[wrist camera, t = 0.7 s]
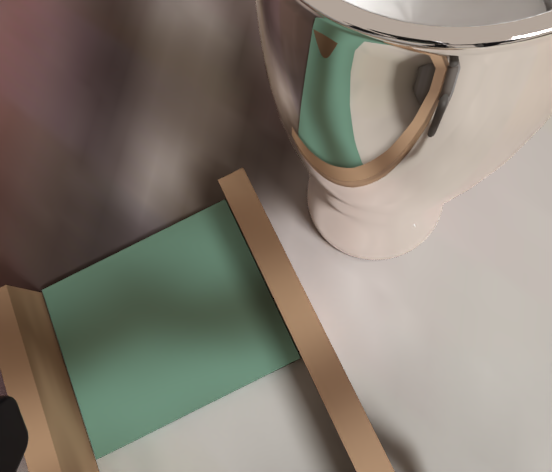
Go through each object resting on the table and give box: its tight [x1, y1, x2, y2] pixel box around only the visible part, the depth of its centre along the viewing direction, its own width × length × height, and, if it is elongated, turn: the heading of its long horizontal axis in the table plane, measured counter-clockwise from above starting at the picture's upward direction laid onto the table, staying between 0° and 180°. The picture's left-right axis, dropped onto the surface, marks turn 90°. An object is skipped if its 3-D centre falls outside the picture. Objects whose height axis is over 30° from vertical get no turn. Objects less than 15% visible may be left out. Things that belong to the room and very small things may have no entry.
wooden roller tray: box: [0, 168, 395, 472], centre depth 17 cm, size 20×14×4 cm
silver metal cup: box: [255, 0, 552, 260], centre depth 14 cm, size 7×7×15 cm
